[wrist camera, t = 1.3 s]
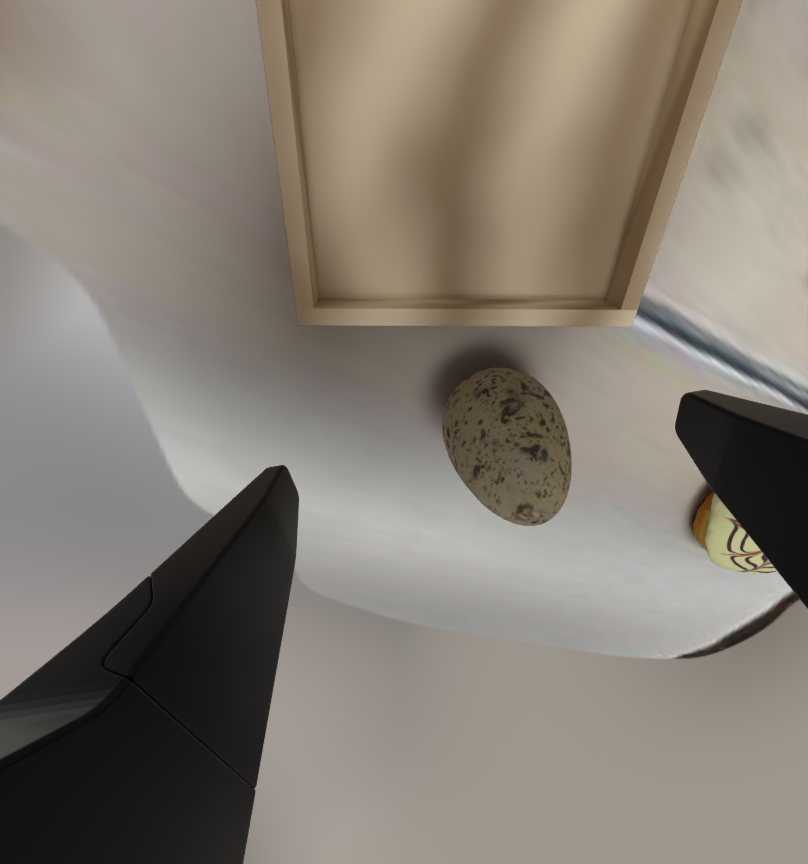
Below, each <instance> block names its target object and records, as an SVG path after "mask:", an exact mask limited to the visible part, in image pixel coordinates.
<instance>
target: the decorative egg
mask: <svg viewBox="0 0 808 864" xmlns="http://www.w3.org/2000/svg"><path fill="white" fill-rule="evenodd" d="M443 437H444V442H445V446H446V450H447V452H448V455H449V458H450V460H451V462H452V464H453V466H454V468H455V470H456V471H457V473H458V475H459V476H460V478H461V479H462V481H463V482H464V483H465V485H466V486H467V487H468V488H469V490H470V491H471V492H472V493H473V494H474V496H475V497H476V498H477V499H478V500H479V501H480V502H481V503H482V504H483V505H484V506H486V507H487V508H488V509H489V510H490V511H492V512H493V513H495V514H496V515H498V516H500V517H501V518H503V519H505V520H507V521H509V522H512V523H515V524H519V525H523V526H534V525H540V524H543V523H545V522H547V521H548V520H550V519H551V518H553V517H554V516H555V515H556V514H557V513H558V512H559V510H560V509H561V507H562V506H563V504H564V502H565V499H566V497H567V494H568V491H569V486H570V480H571V467H572V462H571V449H570V442H569V437H568V432H567V428H566V425H565V422H564V419H563V416H562V414H561V412H560V409H559V407H558V406H557V404H556V402H555V400H554V399H553V397H552V396H551V395H550V393H549V392H548V391H547V390H546V389H545V387H544V386H543V385H541V384H540V383H539V382H538V381H537V380H536V379H534V378H533V377H531V376H529V375H527V374H525V373H523V372H521V371H518V370H515V369H511V368H503V367H496V368H488V369H484V370H480V371H478V372H476V373H474V374H472V375H470V376H468V377H467V378H466V379H464V380H463V381H462V382H461V383H460V384H459V385H458V386H457V387H456V388H455V390H454V391H453V392H452V394H451V396H450V397H449V399H448V402H447V404H446V407H445V411H444V415H443Z"/></svg>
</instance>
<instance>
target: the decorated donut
mask: <svg viewBox="0 0 808 864" xmlns="http://www.w3.org/2000/svg"><path fill="white" fill-rule="evenodd" d="M693 528H694V534H695V535H696V538H697V540H698V541H699V543H700V544H701V545H702V546H703V547H704V548H705V549H706V551H707V553H708V556H709V558H710V559H711V561H712V562H713V563H715V564H716V565H718V566H720V567H722V568H726V569H730V570H736V571H740V572H751V573H770V572H775V571H777V570H776V569H775V568H774V566H773V565H772V564H771V563H770V561H769V560H768V559H767V558H766V556H765V555H764V554H763V553H762V551H761V550H760V549H759V548H758V546H757V545H756V544H755V543H754V541H753V540H752V539H751V538H750V536H749V535H748V534H747V533H746V532H745V530H744V529H743V528H742V527H741V525H740V524H739V523H738V522H737V520H736V519H735V518H734V517H733V515H732V514H731V513H730V512H729V510H728V509H727V508H726V507H725V505H724V504H723V503H722V502H721V500H720V499H719V498H718V497H717V495H716V494H715V493H714V491H713V492H711V493H709V494H708V495H707V496H706V498H705V501H704V502H703V504H701V506H700V507H699V509H698V510H697V515H696V519H695V521H694V524H693Z"/></svg>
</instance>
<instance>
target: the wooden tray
mask: <svg viewBox="0 0 808 864" xmlns="http://www.w3.org/2000/svg"><path fill="white" fill-rule="evenodd" d="M741 3H742V0H256V5H257V13H258V21H259V28H260V36H261V44H262V52H263V59H264V67H265V75H266V82H267V90H268V98H269V105H270V113H271V121H272V128H273V136H274V144H275V151H276V159H277V167H278V174H279V182H280V190H281V198H282V205H283V213H284V221H285V228H286V236H287V244H288V251H289V259H290V267H291V274H292V282H293V290H294V297H295V305H296V313H297V320H298V325H305V326H631V327H632V324H633V321H634V319H635V316H636V313H637V310H638V307H639V304H640V301H641V298H642V295H643V292H644V289H645V286H646V283H647V280H648V277H649V274H650V271H651V268H652V265H653V263H654V260H655V257H656V254H657V251H658V248H659V245H660V242H661V239H662V236H663V233H664V230H665V227H666V224H667V221H668V218H669V215H670V212H671V209H672V207H673V204H674V201H675V198H676V195H677V192H678V189H679V186H680V183H681V180H682V177H683V174H684V171H685V168H686V165H687V162H688V159H689V156H690V153H691V151H692V148H693V145H694V142H695V139H696V136H697V133H698V130H699V127H700V124H701V121H702V118H703V115H704V112H705V109H706V106H707V103H708V100H709V97H710V95H711V92H712V89H713V86H714V83H715V80H716V77H717V74H718V71H719V68H720V65H721V62H722V59H723V56H724V53H725V50H726V47H727V44H728V41H729V39H730V36H731V33H732V30H733V27H734V24H735V21H736V18H737V15H738V12H739V9H740V6H741Z"/></svg>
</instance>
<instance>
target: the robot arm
mask: <svg viewBox="0 0 808 864" xmlns="http://www.w3.org/2000/svg"><path fill="white" fill-rule="evenodd" d="M675 430H676V433H677V436H678V437H679V439H680V440H681V442H682V444H683V445H684V447H685V448H686V450H687V451H688V453H689V455H690V456H691V458H692V459H693V461H694V463H695V464H696V466H697V467H698V469H699V470H700V472H701V474H702V475H703V477H704V478H705V480H706V481H707V483H708V484H709V486H710V487H711V489H712V490H713V491H714V493H715V494H716V495H717V497H718V498H719V499H720V500H721V502H722V503H723V504H724V505H725V507H726V508H727V509H728V510H729V512H730V513H731V514H732V515H733V517H734V518H735V519H736V520H737V522H738V523H739V524H740V525H741V527H742V528H743V529H744V530H745V532H746V533H747V534H748V535H749V536H750V538H751V539H752V540H753V541H754V543H755V544H756V545H757V546H758V548H759V549H760V550H761V551H762V553H763V554H764V555H765V556H766V558H767V559H768V560H769V561H770V563H771V564H772V565H773V566H774V568H775V569H776V570H777V571H778V572H779V574H780V575H781V576H782V577H783V579H784V580H785V581H786V582H787V584H788V585H789V586H790V587H791V589H792V590H793V591H794V592H795V594H796V595H797V596H798V597H799V599H800V600H801V601H802V602H803V604H804V605H805V606H806V607H807V608H808V415H807V414H803V413H799V412H794V411H790V410H786V409H782V408H778V407H774V406H770V405H766V404H762V403H758V402H753V401H749V400H745V399H741V398H737V397H733V396H729V395H725V394H721V393H717V392H713V391H708V390H700V391H695V392H689V393H686V394H684V395H683V397H682V398H681V401H680V405H679V410H678V414H677V419H676V423H675ZM298 509H299V496H298V491H297V489H296V487H295V484H294V482H293V480H292V478H291V475H290V473H289V471H288V469H287V468H286V466H284V465H280V466H274V467H269V468H266V469H265V470H264V471H263V472H262V473H261V474H260V475H259V476H258V477H256V478H255V479H254V480H253V481H252V482H251V483H250V484H249V485H248V486H247V487H245V488H244V489H243V490H242V491H241V492H240V493H239V494H238V495H237V496H236V497H234V498H233V499H232V500H231V501H230V502H229V503H228V504H227V505H226V506H225V507H224V508H222V509H221V510H220V511H219V512H218V513H217V514H216V515H215V516H214V517H213V518H211V519H210V520H209V521H208V522H207V523H206V524H205V525H204V526H203V527H202V528H201V529H200V530H198V531H197V532H196V533H195V534H194V535H193V536H192V537H191V538H190V539H188V540H187V541H186V542H185V543H184V544H183V545H182V546H181V547H180V548H178V549H177V550H176V551H175V552H174V553H173V554H172V555H171V556H170V557H169V558H168V559H166V560H165V561H164V562H163V563H162V564H161V565H160V566H159V567H158V568H157V569H155V570H154V571H153V572H152V573H151V577H150V576H148V577H147V578H145V579H144V581H142V582H141V583H140V584H139V585H138V586H137V587H136V588H135V589H133V590H132V591H131V592H130V593H129V594H128V595H127V596H126V597H125V598H123V599H122V600H121V601H120V602H119V603H118V604H117V605H115V606H114V607H113V608H112V609H111V610H110V611H109V612H108V613H106V614H105V615H104V616H103V617H102V618H100V619H99V620H98V621H97V622H96V623H95V624H93V625H92V626H91V627H89V628H88V629H87V630H86V631H85V632H84V633H82V634H81V635H80V636H79V637H77V638H76V639H75V640H74V641H72V642H71V643H70V644H69V645H68V646H66V647H65V648H64V649H63V650H61V651H60V652H59V653H58V654H57V655H55V656H54V657H53V658H52V659H51V660H49V661H48V662H47V663H46V664H44V665H43V666H42V667H41V668H39V669H38V670H37V671H36V672H34V673H33V674H32V675H31V676H30V677H28V678H27V679H26V680H25V681H23V682H22V683H21V684H20V685H18V686H17V687H16V688H15V689H14V690H12V691H11V692H10V693H9V694H8V695H6V696H5V697H4V698H2V699H1V700H0V864H243V860H244V855H245V849H246V843H247V837H248V831H249V826H250V820H251V814H252V809H253V803H254V797H255V789H254V788H255V787H256V784H257V779H258V773H259V767H260V761H261V755H262V750H263V744H264V738H265V733H266V727H267V721H268V716H269V710H270V703H271V698H272V692H273V687H274V681H275V675H276V669H277V664H278V658H279V652H280V647H281V641H282V635H283V630H284V624H285V618H286V611H287V607H288V601H289V595H290V589H291V584H292V578H293V572H294V566H295V559H296V548H297V529H298Z"/></svg>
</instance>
